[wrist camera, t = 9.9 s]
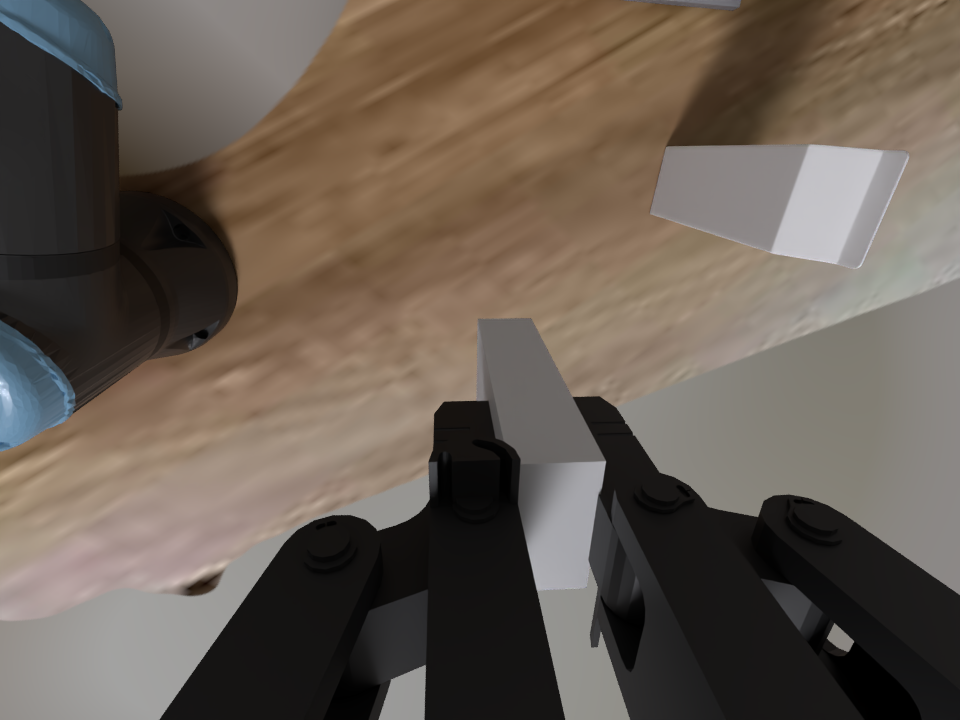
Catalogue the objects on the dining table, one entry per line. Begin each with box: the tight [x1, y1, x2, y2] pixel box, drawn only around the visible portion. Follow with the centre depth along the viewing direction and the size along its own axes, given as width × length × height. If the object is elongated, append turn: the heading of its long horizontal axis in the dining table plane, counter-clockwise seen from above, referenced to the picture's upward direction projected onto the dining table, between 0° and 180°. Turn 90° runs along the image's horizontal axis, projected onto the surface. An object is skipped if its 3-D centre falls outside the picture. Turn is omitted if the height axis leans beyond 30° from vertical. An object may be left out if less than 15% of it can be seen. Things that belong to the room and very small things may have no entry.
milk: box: [650, 144, 909, 269], centre depth 34 cm, size 6×6×22 cm
